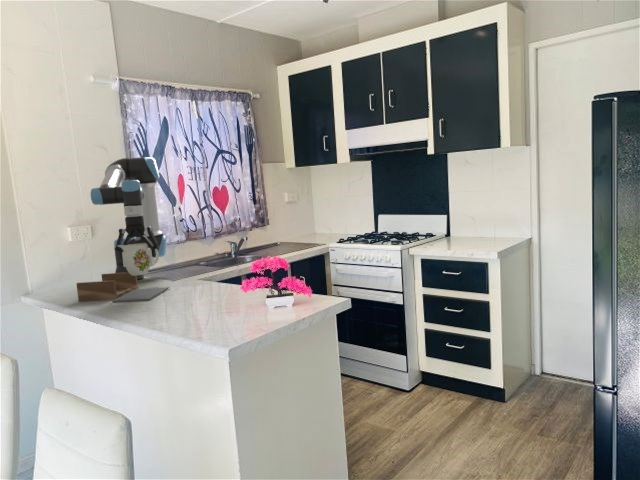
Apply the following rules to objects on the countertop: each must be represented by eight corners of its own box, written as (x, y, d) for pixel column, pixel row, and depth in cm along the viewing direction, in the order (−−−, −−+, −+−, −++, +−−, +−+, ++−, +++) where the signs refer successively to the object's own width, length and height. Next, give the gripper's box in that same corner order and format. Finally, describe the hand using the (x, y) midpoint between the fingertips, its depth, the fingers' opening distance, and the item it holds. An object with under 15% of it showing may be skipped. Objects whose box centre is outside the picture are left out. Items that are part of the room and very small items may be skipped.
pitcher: (166, 270, 216) (162, 240, 215) (127, 278, 203) (123, 245, 202) (154, 269, 224) (150, 240, 222) (115, 276, 211) (111, 245, 210)
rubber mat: (135, 290, 227) (135, 289, 227) (169, 288, 226) (169, 287, 226) (112, 302, 203) (112, 300, 203) (149, 300, 202) (149, 298, 202)
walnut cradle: (104, 290, 235) (103, 273, 234) (138, 288, 234) (136, 271, 233) (78, 301, 211) (76, 283, 210) (115, 299, 210) (113, 281, 209)
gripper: (103, 218, 208) (108, 268, 210) (157, 214, 207) (162, 264, 209) (111, 217, 215) (116, 265, 217) (163, 213, 214) (168, 262, 216)
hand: (139, 265), depth 213 cm, fingers closed on pitcher, 11 cm apart
